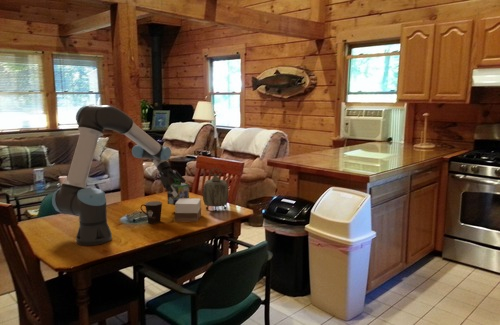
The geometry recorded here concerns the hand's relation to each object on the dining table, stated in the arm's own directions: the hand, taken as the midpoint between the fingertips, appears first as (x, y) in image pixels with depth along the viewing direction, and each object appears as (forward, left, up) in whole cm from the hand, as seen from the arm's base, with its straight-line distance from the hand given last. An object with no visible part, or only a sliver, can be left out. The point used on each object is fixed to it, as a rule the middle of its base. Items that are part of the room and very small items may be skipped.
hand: (182, 194), depth 223 cm
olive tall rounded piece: (+2, -19, -10) cm, 22 cm away
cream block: (-13, -6, -6) cm, 15 cm away
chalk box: (+2, +3, -6) cm, 7 cm away
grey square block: (-13, -6, -11) cm, 18 cm away
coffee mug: (-19, +12, -10) cm, 25 cm away
